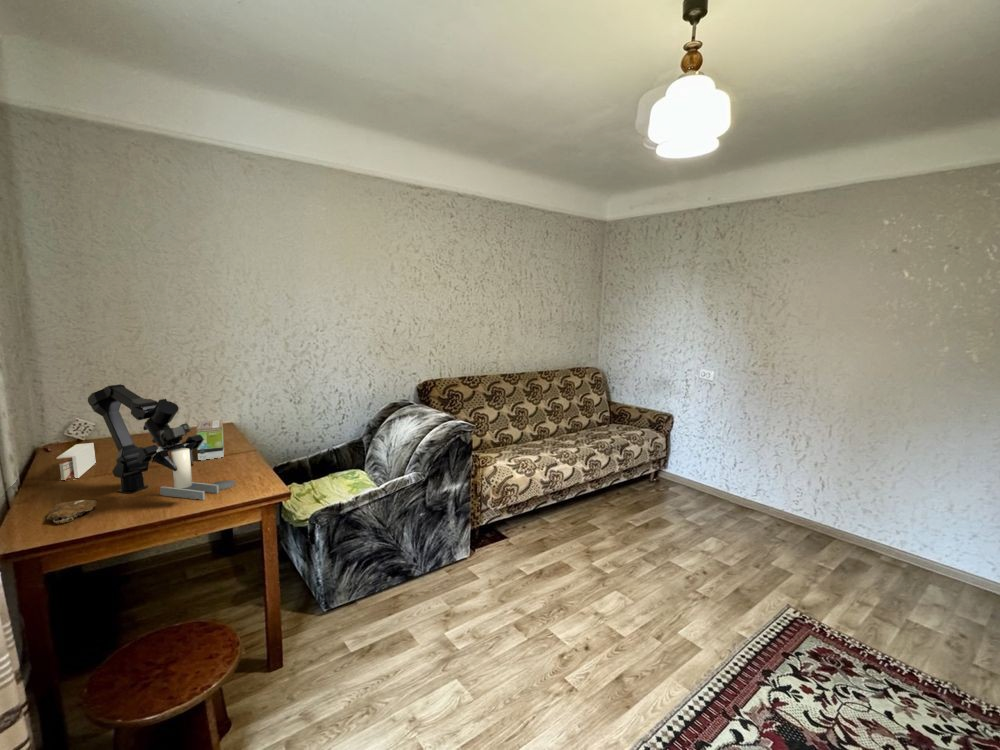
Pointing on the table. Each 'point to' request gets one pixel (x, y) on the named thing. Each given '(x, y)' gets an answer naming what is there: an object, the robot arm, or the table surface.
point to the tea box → (210, 439)
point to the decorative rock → (70, 510)
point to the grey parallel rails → (190, 491)
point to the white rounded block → (182, 468)
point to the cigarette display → (77, 460)
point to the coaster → (225, 484)
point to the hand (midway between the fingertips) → (184, 467)
